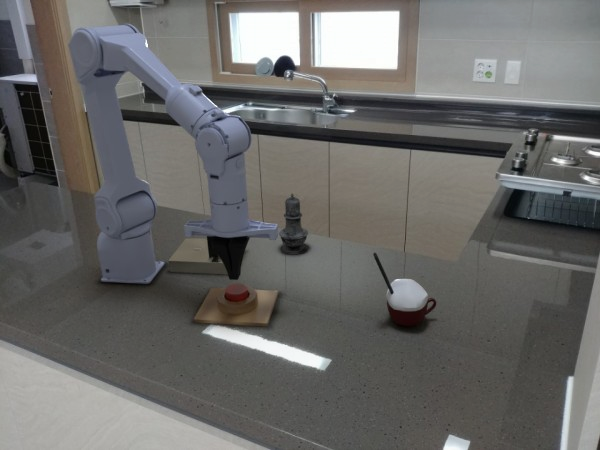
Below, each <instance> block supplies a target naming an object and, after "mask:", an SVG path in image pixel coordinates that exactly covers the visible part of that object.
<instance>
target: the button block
mask: <svg viewBox="0 0 600 450" xmlns="http://www.w3.org/2000/svg"><path fill="white" fill-rule="evenodd" d="M246 286H247V289H248V298H247V299H245V300H243V301H239V302H230V301H228V300H227V299H226V292H225V289H226V288H227V287H228V286H226V287H225V288H224V287H211V288H210V290H209V291H208V293H207V295H206V296H205V299H204V300H203V301H202V304H201V305H200V307H199V309H198V310H197V312H196V314H195V315H194V317H193V323H194V324H195V323H196V324H209V325H232V326H247V327H265V328H268V327H269V324H270V321H271V317H272V315H273V312H274V309H275V306H276V303H277V300H278V297H279V295H280V294H279V292H280V291H279V290H268V289H255V288H254V287H251V286H250V285H246Z"/></svg>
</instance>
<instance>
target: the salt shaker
mask: <svg viewBox="0 0 600 450" xmlns="http://www.w3.org/2000/svg"><path fill="white" fill-rule="evenodd" d="M284 205H285V207H284V208H285V213H284V214H283V217H284V219H285V227H284V228H282V229H280V230H279V231H278V236H280V239H281V241H282V243H283V245H282V246H281V249H280V250H281V252H282V253H284V254H287V255H300V254H304V253H305V252H307V250H308V246H307V245H306V244H305V243H306V241H307V237H308V235H309V230H308V229H307V228H304V227H303V226H302V220H301V219H302V216H303V214H302V212H301V200H299V198H298V197H295V194H294V193H291V194H290V196H289V197H287V198H286V199H285V201H284Z"/></svg>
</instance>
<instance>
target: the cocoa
mask: <svg viewBox="0 0 600 450" xmlns="http://www.w3.org/2000/svg"><path fill="white" fill-rule="evenodd" d="M373 257H374V260H375V262H376V264H377V267H378V269H379V271H380V273H381V276H382V277H383V280H384V282H385V284H386V286H387V291H386V296H385V297H386V309H387V311H388V314H389V317H390V319H391V320H392V321H393V322H394V323H396V324H397V325H399V326H403V327H413V326H417V325H419V324H420V323H422V321H423V320H424V319H425V317H426V316H427V315H429V314H430V313H431V312H433V310H434V309H435V308H436V306H437V301H436V299H435V298H433V297H430V298H429V294H428V293H427V291H426V290H425V288H424V287H423V286H422V285H421V284H419V283H418V282H417V281H416V280H414V279H410V278H397V279H394V280H393V281H392V282H390V280H389V278H388V276H387V273H386V272H385V269H384V267H383V264H382V263H381V261H380V258H379V255H378V254H377V252H373ZM431 302H432V305H431V306H430V307H429V308H428V305H429V303H431Z"/></svg>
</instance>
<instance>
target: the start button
mask: <svg viewBox="0 0 600 450" xmlns="http://www.w3.org/2000/svg"><path fill="white" fill-rule="evenodd" d="M247 286H248V285H247V284H244V283H232V284H229V285H228V286H226V287H227V288H226V287H225V288H226V289H225V292H226V299H227V300H228V301H230V302H239V301H243V300H245V299H247V298H248V289H247Z"/></svg>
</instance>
